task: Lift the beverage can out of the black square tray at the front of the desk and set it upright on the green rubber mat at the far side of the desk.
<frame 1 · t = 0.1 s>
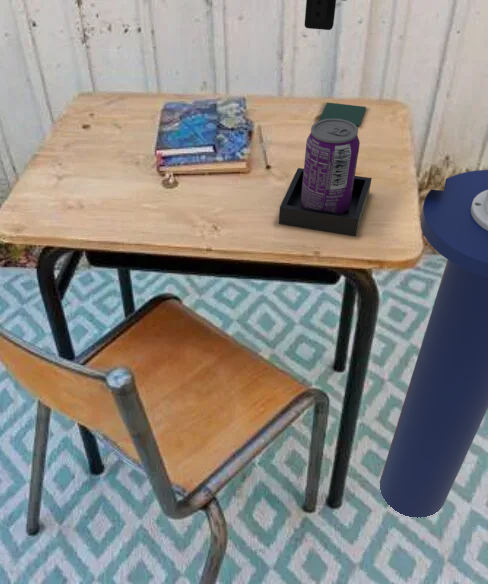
hand: (327, 13, 77), 26 cm above the table, tool pointing down, fingers open, 9 cm apart
beverage can: (324, 208, 95), resting on black square tray
rubber mat: (342, 115, 114), on the table
black square tray: (324, 208, 95), on the table
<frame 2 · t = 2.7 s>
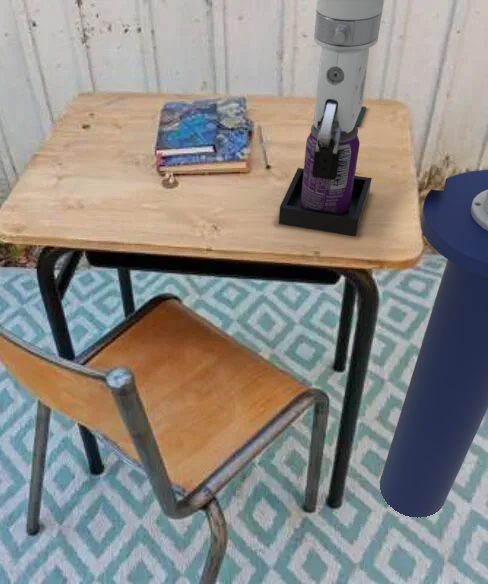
hand: (330, 162, 89), 8 cm above the table, tool pointing down, fingers closed on beverage can, 7 cm apart
beverage can: (324, 208, 95), resting on black square tray, touching gripper
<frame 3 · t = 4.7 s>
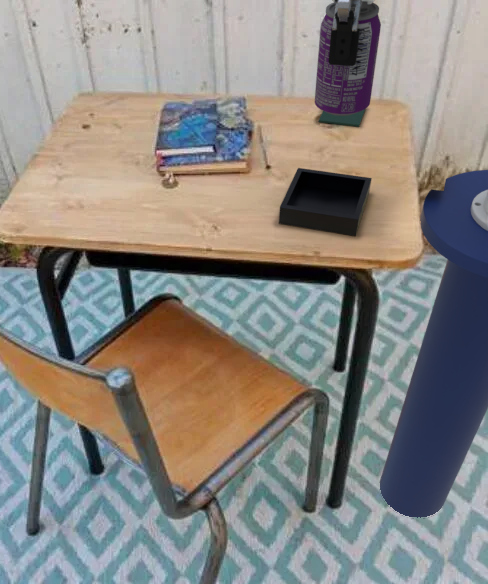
hand: (347, 50, 80), 22 cm above the table, tool pointing down, fingers closed on beverage can, 7 cm apart
beverage can: (341, 108, 85), point 14 cm above the table, touching gripper
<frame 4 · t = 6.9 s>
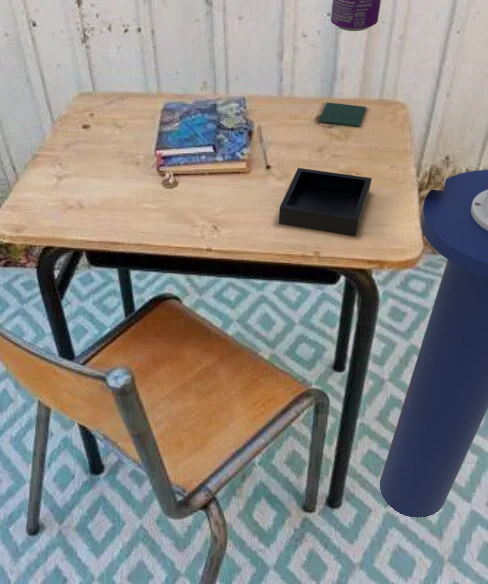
beverage can: (353, 26, 100), point 16 cm above the table, touching gripper
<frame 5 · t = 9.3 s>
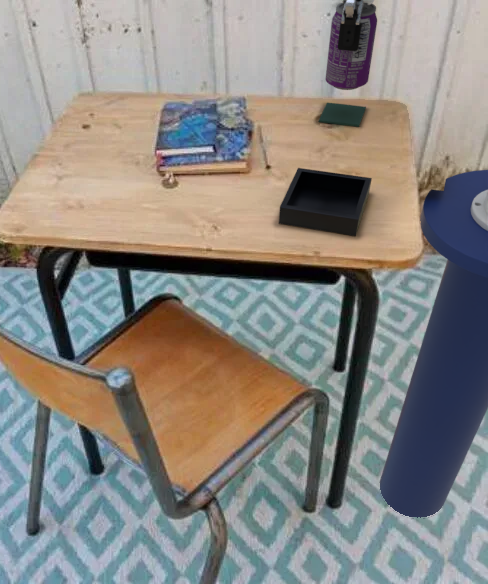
hand: (352, 39, 105), 13 cm above the table, tool pointing down, fingers closed on beverage can, 7 cm apart
beverage can: (346, 85, 110), point 5 cm above the table, touching gripper
when the fingers open (8 cm above the table, at t = 11.1 s): beverage can stays where it is, resting on rubber mat.
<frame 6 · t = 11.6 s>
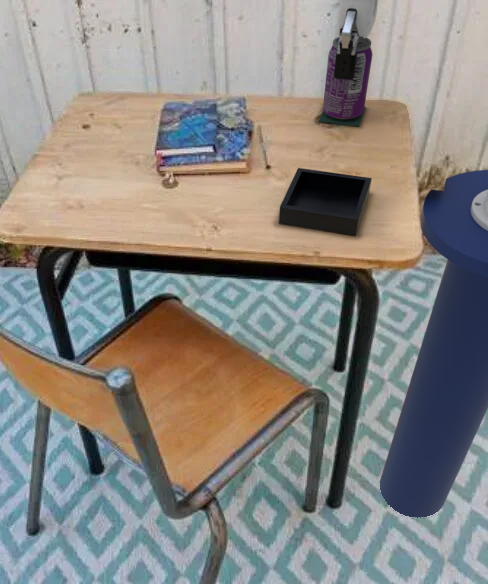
hand: (349, 66, 108), 9 cm above the table, tool pointing down, fingers open, 9 cm apart
beverage can: (342, 114, 114), resting on rubber mat
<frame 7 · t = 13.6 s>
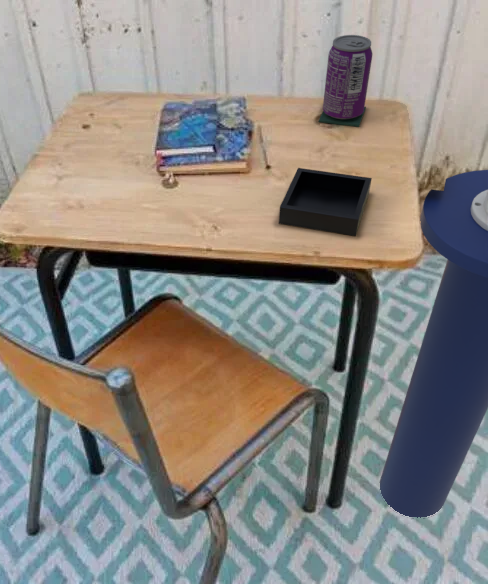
nothing on the table moved.
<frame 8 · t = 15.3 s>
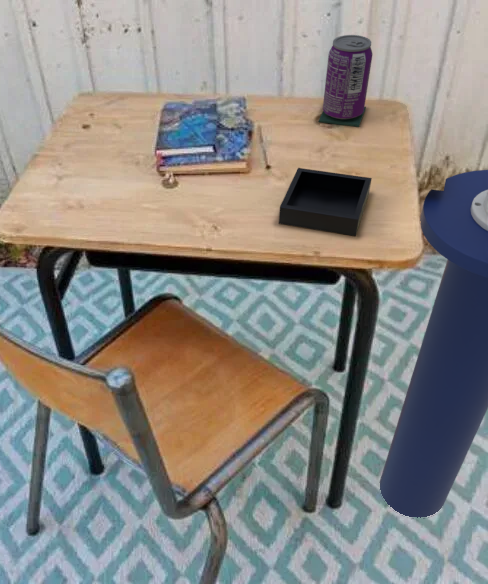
nothing on the table moved.
at the end: beverage can 0.0 cm off-centre on the rubber mat, point 0.2 cm above the rubber mat's base; beverage can tilted 0°; the gripper is holding nothing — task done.
